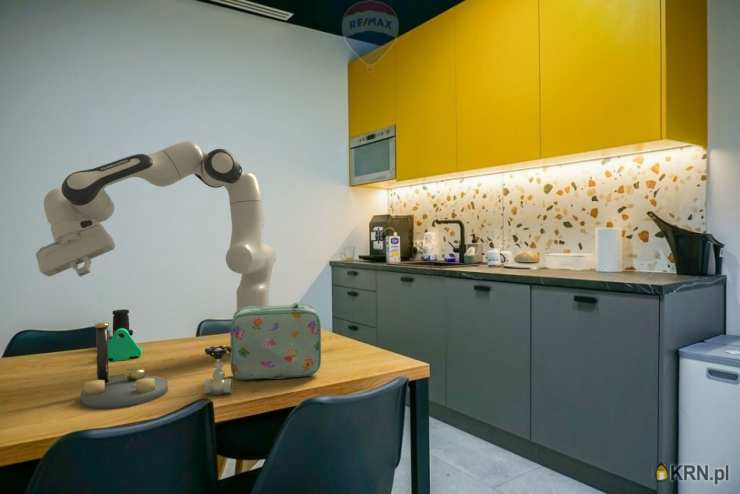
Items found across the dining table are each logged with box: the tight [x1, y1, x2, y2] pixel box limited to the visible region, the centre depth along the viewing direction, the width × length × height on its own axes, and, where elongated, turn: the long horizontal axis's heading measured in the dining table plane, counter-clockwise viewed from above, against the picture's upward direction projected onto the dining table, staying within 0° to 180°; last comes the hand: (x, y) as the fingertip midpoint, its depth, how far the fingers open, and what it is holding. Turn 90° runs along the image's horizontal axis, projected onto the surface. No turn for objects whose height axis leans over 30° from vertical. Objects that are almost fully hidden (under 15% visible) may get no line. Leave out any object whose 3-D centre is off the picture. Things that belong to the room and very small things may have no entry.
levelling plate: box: [80, 375, 169, 410], centre depth 123 cm, size 20×20×4 cm
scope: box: [108, 309, 134, 342], centre depth 175 cm, size 8×14×10 cm
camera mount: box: [108, 328, 143, 362], centre depth 162 cm, size 12×8×10 cm, turn 112°
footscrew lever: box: [94, 322, 146, 383], centre depth 127 cm, size 12×4×16 cm, turn 131°
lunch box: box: [229, 301, 323, 381], centre depth 139 cm, size 27×10×21 cm, turn 102°
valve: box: [203, 345, 234, 396], centre depth 122 cm, size 7×7×12 cm
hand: (84, 273), depth 136 cm, fingers closed
